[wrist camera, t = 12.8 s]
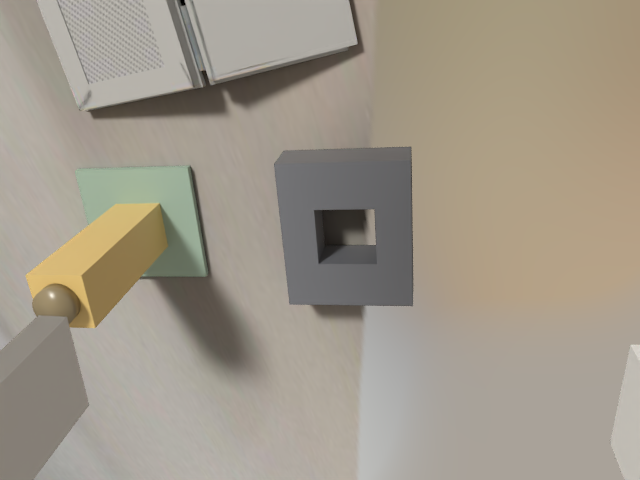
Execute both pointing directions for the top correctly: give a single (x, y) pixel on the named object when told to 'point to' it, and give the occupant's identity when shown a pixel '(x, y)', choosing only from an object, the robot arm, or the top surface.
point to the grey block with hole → (345, 194)
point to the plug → (98, 265)
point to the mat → (152, 187)
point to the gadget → (185, 42)
